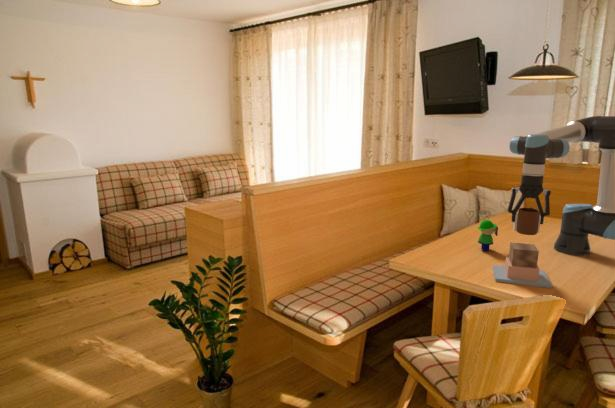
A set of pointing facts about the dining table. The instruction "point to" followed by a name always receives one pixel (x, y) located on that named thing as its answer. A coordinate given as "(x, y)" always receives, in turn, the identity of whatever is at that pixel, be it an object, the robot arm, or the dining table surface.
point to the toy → (487, 234)
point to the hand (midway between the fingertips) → (525, 230)
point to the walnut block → (523, 255)
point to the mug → (528, 221)
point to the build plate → (519, 281)
